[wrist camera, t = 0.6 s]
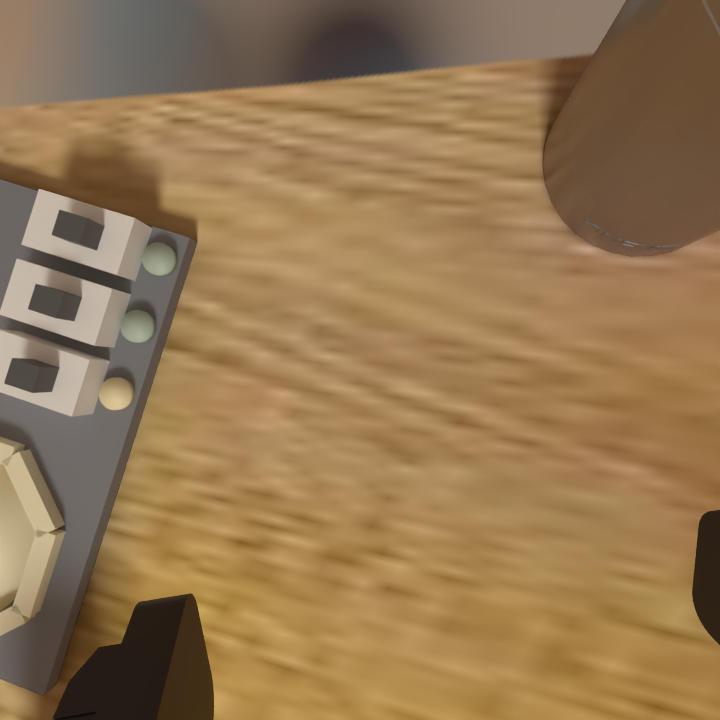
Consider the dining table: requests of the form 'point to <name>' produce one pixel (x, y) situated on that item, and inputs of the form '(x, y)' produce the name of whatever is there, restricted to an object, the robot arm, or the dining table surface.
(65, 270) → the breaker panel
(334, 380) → the dining table surface
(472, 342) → the dining table surface
